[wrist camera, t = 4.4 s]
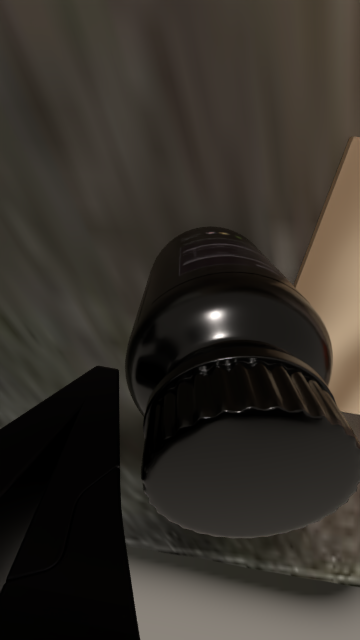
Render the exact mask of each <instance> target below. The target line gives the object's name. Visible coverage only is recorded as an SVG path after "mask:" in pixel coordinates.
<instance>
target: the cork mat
mask: <svg viewBox="0 0 360 640" xmlns="http://www.w3.org/2000/svg"><path fill="white" fill-rule="evenodd" d="M294 287H295V288H296V289H297V290H298V291H299V292H300V293H301V294H302V295H303V296H304V297H305V298H306V300H307V301H308V302H309V303H310V304H311V305H312V307H313V308H314V309H315V311H316V312H317V313H318V314H319V316H320V317H321V319H322V321H323V322H324V324H325V326H326V328H327V331H328V333H329V336H330V340H331V344H332V351H333V367H332V375H331V379H330V383H329V386H328V388H329V389H330V391H331V393H332V394H333V396H334V399H335V401H336V404H337V407H338V408H339V410H340V411H342V412H348V413H353V414H359V415H360V138H359V137H350V138H349V141H348V143H347V146H346V148H345V151H344V154H343V156H342V159H341V162H340V164H339V167H338V170H337V172H336V175H335V178H334V180H333V183H332V185H331V188H330V191H329V193H328V196H327V199H326V201H325V204H324V207H323V209H322V212H321V214H320V217H319V220H318V222H317V225H316V228H315V230H314V233H313V236H312V238H311V241H310V243H309V246H308V249H307V251H306V254H305V257H304V259H303V262H302V265H301V267H300V270H299V272H298V275H297V278H296V280H295V283H294Z"/></svg>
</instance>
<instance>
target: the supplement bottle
mask: <svg viewBox="0 0 360 640" xmlns="http://www.w3.org/2000/svg"><path fill="white" fill-rule="evenodd" d="M332 367H333V351H332V344H331V340H330V336H329V333H328V331H327V328H326V326H325V324H324V322H323V321H322V319H321V317H320V316H319V314H318V313H317V312H316V311H315V309H314V308H313V307H312V305H311V304H310V303H309V302H308V301H307V300H306V298H305V297H304V296H303V295H302V294H301V293H300V292H299V291H298V290H297V289H296V288H295V287H294V286H293V285H292V284H291V283H290V282H289V281H288V280H287V279H286V278H285V276H284V275H283V274H282V273H281V272H280V271H279V270H278V269H277V268H276V267H275V266H274V265H273V264H272V263H271V262H270V261H269V260H268V259H267V258H266V257H265V256H264V254H263V253H262V252H261V251H260V250H259V249H258V248H257V247H256V246H255V245H254V244H252V243H251V242H250V241H249V240H248V239H247V238H245V237H244V236H242V235H240V234H239V233H237V232H234V231H232V230H229V229H225V228H221V227H201V228H196V229H192V230H189V231H187V232H184V233H182V234H180V235H179V236H177V237H176V238H174V239H173V240H172V241H170V242H169V243H168V244H167V245H166V246H165V247H164V248H163V249H162V251H161V252H160V253H159V255H158V256H157V258H156V260H155V262H154V264H153V267H152V269H151V272H150V275H149V278H148V281H147V285H146V288H145V291H144V294H143V297H142V301H141V304H140V307H139V310H138V313H137V317H136V320H135V323H134V326H133V330H132V333H131V336H130V340H129V343H128V348H127V353H126V360H125V372H126V380H127V385H128V388H129V391H130V394H131V396H132V398H133V401H134V403H135V405H136V406H137V408H138V409H139V411H140V413H141V414H142V415H143V416H144V423H143V432H144V438H145V444H144V451H143V458H142V466H141V479H142V481H143V491H144V493H145V494H146V495H147V496H148V497H149V503H150V504H151V505H153V506H154V507H155V508H156V509H157V512H158V513H159V514H161V515H163V516H165V517H166V518H167V519H168V520H169V521H170V522H173V523H176V524H178V525H179V526H181V527H182V528H185V529H189V530H193V531H195V532H197V533H201V534H208V535H211V536H214V537H228V538H255V537H269V536H272V535H275V534H283V533H288V532H290V531H292V530H295V529H300V528H304V527H306V526H308V525H309V524H312V523H315V522H318V521H320V520H322V519H323V518H324V517H325V516H328V515H330V514H332V513H335V512H336V510H337V509H338V508H339V507H340V506H342V505H344V504H345V503H347V502H348V500H349V497H350V496H351V495H352V494H354V493H355V492H356V491H357V485H358V484H359V482H360V442H359V441H358V439H357V437H356V436H355V434H354V433H353V430H352V429H351V427H350V425H349V424H348V422H347V421H346V419H345V418H344V416H343V414H342V413H341V411H340V410H339V408H338V407H337V404H336V401H335V399H334V396H333V394H332V393H331V391H330V389H329V388H328V386H329V383H330V379H331V375H332Z"/></svg>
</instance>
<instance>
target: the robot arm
mask: <svg viewBox="0 0 360 640" xmlns="http://www.w3.org/2000/svg"><path fill="white" fill-rule="evenodd" d="M0 640H140V636H139V630H138V624H137V617H136V611H135V604H134V597H133V590H132V584H131V577H130V570H129V564H128V556H127V549H126V543H125V536H124V528H123V519H122V510H121V493H120V437H119V370H118V369H114V368H108V367H103V366H96V367H94V368H93V369H91V370H89V371H88V372H86V373H85V374H83V375H82V376H80V377H79V378H77V379H76V380H74V381H73V382H71V383H70V384H68V385H67V386H65V387H64V388H62V389H61V390H59V391H58V392H56V393H55V394H53V395H52V396H50V397H49V398H47V399H45V400H44V401H42V402H41V403H39V404H38V405H36V406H35V407H33V408H32V409H30V410H29V411H27V412H26V413H24V414H23V415H21V416H20V417H18V418H17V419H15V420H14V421H12V422H11V423H9V424H8V425H6V426H5V427H3V428H1V429H0Z"/></svg>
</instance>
